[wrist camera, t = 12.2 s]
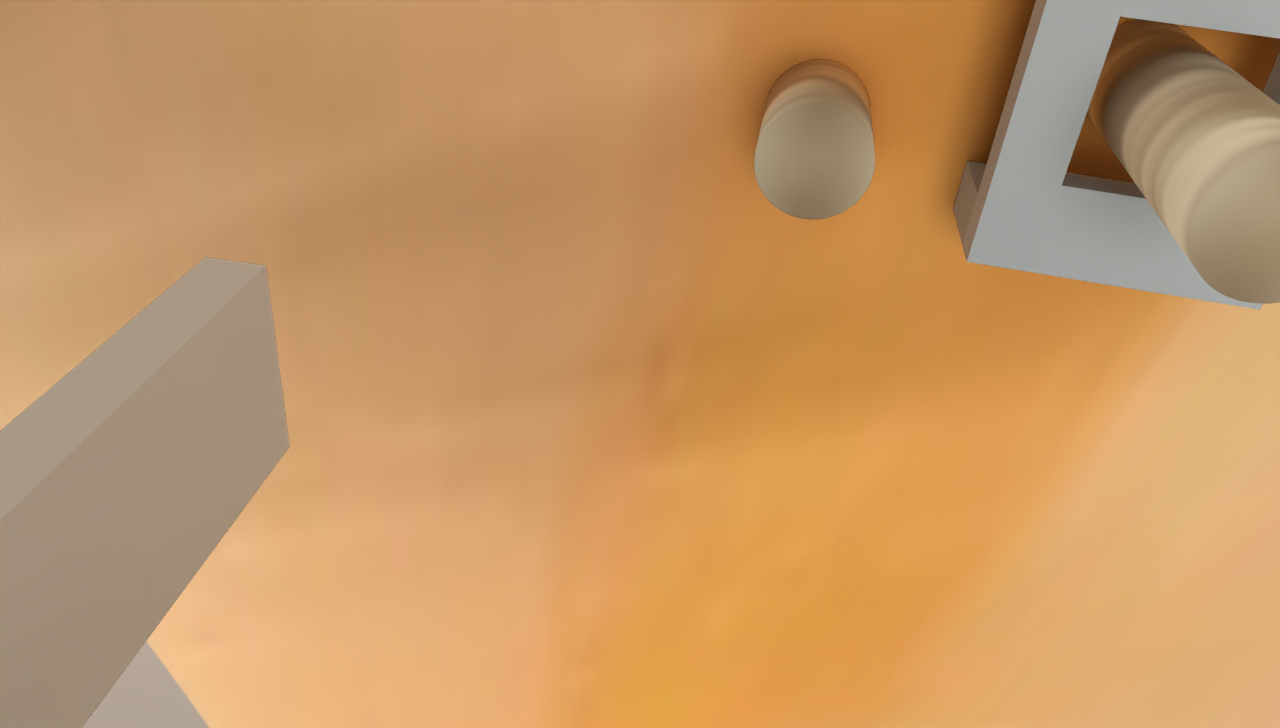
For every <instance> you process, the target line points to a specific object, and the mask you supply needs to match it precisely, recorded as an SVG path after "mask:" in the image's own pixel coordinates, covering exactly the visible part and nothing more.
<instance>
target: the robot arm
mask: <svg viewBox="0 0 1280 728" xmlns="http://www.w3.org/2000/svg"><path fill="white" fill-rule="evenodd" d="M289 447H290V445H289V437H288V429H287V422H286V414H285V406H284V399H283V391H282V384H281V376H280V368H279V361H278V353H277V345H276V338H275V330H274V323H273V315H272V307H271V300H270V292H269V284H268V277H267V269H266V266H265V265H258V264H251V263H244V262H237V261H230V260H224V259H217V258H210V257H205V258H204V259H203V260H201V261H200V262H199V263H198V264H197V265H195V266H194V267H193V268H192V269H191V270H190V271H188V272H187V273H186V274H185V275H184V276H182V277H181V278H180V279H179V280H178V281H177V282H175V283H174V284H173V285H172V286H171V287H169V288H168V289H167V290H166V291H165V292H164V293H162V294H161V295H160V296H159V297H158V298H157V299H155V300H154V301H153V302H152V303H151V304H149V305H148V306H147V307H146V308H145V309H144V310H142V311H141V312H140V313H139V314H138V315H136V316H135V317H134V318H133V319H132V320H131V321H129V322H128V323H127V324H126V325H125V326H123V327H122V328H121V329H120V330H119V331H118V332H116V333H115V334H114V335H113V336H112V337H110V338H109V339H108V340H107V341H106V342H105V343H103V344H102V345H101V346H100V347H99V348H97V349H96V350H95V351H94V352H93V353H92V354H90V355H89V356H88V357H87V358H86V359H84V360H83V361H82V362H81V363H80V364H79V365H77V366H76V367H75V368H74V369H73V370H71V371H70V372H69V373H68V374H67V375H66V376H64V377H63V378H62V379H61V380H60V381H58V382H57V383H56V384H55V385H54V386H53V387H51V388H50V389H49V390H48V391H47V392H45V393H44V394H43V395H42V396H41V397H40V398H38V399H37V400H36V401H35V402H34V403H32V404H31V405H30V406H29V407H28V408H27V409H25V410H24V411H23V412H22V413H21V414H19V415H18V416H17V417H16V418H15V419H14V420H12V421H11V422H10V423H9V424H8V425H6V426H5V427H4V428H3V429H2V430H1V431H0V728H82V727H83V726H84V724H85V723H86V722H87V720H88V719H89V718H90V716H91V715H92V714H93V712H94V711H95V710H96V708H97V707H98V705H99V704H100V703H101V701H102V700H103V699H104V697H105V696H106V695H107V693H108V692H109V690H110V689H111V688H112V687H113V685H114V684H115V682H116V681H117V680H118V678H119V677H120V676H121V674H122V673H123V672H124V670H125V669H126V667H127V666H128V665H129V663H130V662H131V661H132V659H133V658H134V657H135V655H136V654H137V653H138V651H139V650H140V649H141V647H142V646H143V645H144V643H145V642H146V640H147V639H148V638H149V636H150V635H151V634H152V632H153V631H154V630H155V628H156V627H157V626H158V624H159V623H160V622H161V620H162V619H163V617H164V616H165V615H166V613H167V612H168V611H169V609H170V608H171V607H172V605H173V604H174V603H175V601H176V600H177V599H178V597H179V596H180V594H181V593H182V592H183V590H184V589H185V588H186V586H187V585H188V584H189V582H190V581H191V580H192V578H193V577H194V575H195V574H196V573H197V571H198V570H199V569H200V567H201V566H202V565H203V563H204V562H205V561H206V559H207V558H208V557H209V555H210V554H211V552H212V551H213V550H214V548H215V547H216V546H217V544H218V543H219V542H220V540H221V539H222V538H223V536H224V535H225V534H226V532H227V531H228V529H229V528H230V527H231V525H232V524H233V523H234V521H235V520H236V519H237V517H238V516H239V515H240V513H241V512H242V510H243V509H244V508H245V506H246V505H247V504H248V502H249V501H250V500H251V498H252V497H253V496H254V494H255V493H256V492H257V490H258V489H259V487H260V486H261V485H262V483H263V482H264V481H265V479H266V478H267V477H268V475H269V474H270V473H271V471H272V470H273V469H274V467H275V466H276V464H277V463H278V462H279V460H280V459H281V458H282V456H283V455H284V454H285V452H286V451H287V450H288V448H289Z"/></svg>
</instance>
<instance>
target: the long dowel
mask: <svg viewBox="0 0 1280 728" xmlns="http://www.w3.org/2000/svg"><path fill="white" fill-rule="evenodd" d="M1087 116H1088V117H1089V119H1090V120H1091V121H1092V123H1093V124H1094V126H1095V127H1096V129H1097V130H1098V131H1099V133H1100V134H1101V136H1102V137H1103V138H1104V140H1105V141H1106V143H1107V144H1108V146H1109V147H1110V148H1111V150H1112V151H1113V153H1114V154H1115V155H1116V157H1117V158H1118V160H1119V161H1120V163H1121V164H1122V165H1123V167H1124V168H1125V170H1126V171H1127V172H1128V174H1129V175H1130V177H1131V178H1132V179H1133V181H1134V182H1135V184H1136V185H1137V187H1138V188H1139V189H1140V191H1141V192H1142V194H1143V195H1144V196H1145V198H1146V199H1147V201H1148V202H1149V204H1150V205H1151V206H1152V208H1153V209H1154V211H1155V212H1156V213H1157V215H1158V216H1159V218H1160V219H1161V221H1162V222H1163V223H1164V225H1165V226H1166V228H1167V229H1168V230H1169V232H1170V233H1171V235H1172V236H1173V238H1174V239H1175V240H1176V242H1177V243H1178V245H1179V246H1180V247H1181V249H1182V250H1183V252H1184V253H1185V255H1186V256H1187V257H1188V259H1189V260H1190V262H1191V263H1192V264H1193V266H1194V267H1195V269H1196V270H1197V272H1198V273H1199V274H1200V276H1201V277H1202V278H1203V280H1204V281H1205V282H1206V283H1207V284H1208V285H1209V286H1210V287H1212V288H1213V289H1214V290H1216V291H1217V292H1219V293H1221V294H1223V295H1225V296H1227V297H1229V298H1232V299H1235V300H1239V301H1243V302H1248V303H1278V302H1280V105H1279V104H1277V103H1276V102H1275V101H1273V100H1272V99H1271V98H1269V97H1268V96H1267V95H1266V94H1264V93H1263V92H1262V91H1260V90H1259V89H1258V88H1256V87H1255V86H1254V85H1253V84H1251V83H1250V82H1249V81H1247V80H1246V79H1245V78H1243V77H1242V76H1241V75H1240V74H1238V73H1237V72H1236V71H1234V70H1233V69H1232V68H1230V67H1229V66H1228V65H1227V64H1225V63H1224V62H1223V61H1221V60H1220V59H1219V58H1218V57H1216V56H1215V55H1214V54H1212V53H1211V52H1210V51H1208V50H1207V49H1206V48H1205V47H1203V46H1202V45H1201V44H1199V43H1198V42H1197V41H1195V40H1194V39H1193V38H1192V37H1190V36H1189V35H1188V34H1186V33H1185V32H1184V31H1182V30H1181V29H1180V28H1179V27H1177V26H1175V25H1173V24H1171V23H1164V22H1157V21H1149V20H1142V19H1139V20H1133V21H1130V22H1126V23H1124V24H1121V25H1119V26H1117V27H1116V30H1115V33H1114V36H1113V39H1112V42H1111V45H1110V48H1109V50H1108V53H1107V56H1106V59H1105V62H1104V65H1103V68H1102V71H1101V73H1100V76H1099V79H1098V82H1097V85H1096V88H1095V91H1094V94H1093V96H1092V99H1091V102H1090V105H1089V108H1088V111H1087Z"/></svg>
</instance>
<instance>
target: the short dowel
mask: <svg viewBox="0 0 1280 728" xmlns="http://www.w3.org/2000/svg"><path fill="white" fill-rule="evenodd" d="M874 168H875V151H874V141H873V130H872V119H871V109H870V99H869V95H868V92H867V90H866V87H865V85H864V84H863V82H862V80H861V79H860V78H859V77H858V75H857V74H856V73H854V72H853V71H852V70H851V69H849V68H848V67H847V66H845V65H843V64H841V63H838V62H835V61H831V60H824V59H816V60H809V61H805V62H802V63H799V64H797V65H795V66H793V67H791V68H790V69H788V70H787V71H786V72H784V73H783V74H782V75H781V76H780V77H779V78H778V79H777V81H776V82H775V83H774V85H773V87H772V88H771V90H770V93H769V95H768V98H767V102H766V106H765V111H764V116H763V120H762V125H761V129H760V134H759V138H758V143H757V147H756V152H755V159H754V170H755V176H756V179H757V182H758V185H759V187H760V189H761V191H762V192H763V194H764V195H765V197H766V198H767V199H768V200H769V202H771V203H772V204H773V205H774V206H775V207H776V208H778V209H779V210H781V211H782V212H784V213H786V214H788V215H791V216H794V217H797V218H802V219H824V218H828V217H832V216H835V215H837V214H840V213H842V212H844V211H845V210H847V209H849V208H850V207H851V206H853V205H854V204H855V203H856V202H857V201H858V200H859V199H860V198H861V197H862V196H863V194H864V193H865V192H866V190H867V188H868V187H869V184H870V182H871V180H872V177H873V174H874Z"/></svg>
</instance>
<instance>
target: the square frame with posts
mask: <svg viewBox="0 0 1280 728" xmlns="http://www.w3.org/2000/svg"><path fill="white" fill-rule="evenodd" d="M1120 16H1121V17H1128V18H1135V19H1142V20H1149V21H1157V22H1164V23H1171V24H1178V25H1186V26H1193V27H1200V28H1207V29H1214V30H1222V31H1229V32H1236V33H1243V34H1250V35H1258V36H1265V37H1272V38H1279V39H1280V0H1036V2H1035V5H1034V8H1033V12H1032V15H1031V18H1030V22H1029V25H1028V28H1027V32H1026V35H1025V38H1024V42H1023V45H1022V48H1021V51H1020V55H1019V58H1018V61H1017V65H1016V68H1015V71H1014V75H1013V78H1012V81H1011V85H1010V88H1009V91H1008V95H1007V98H1006V101H1005V105H1004V108H1003V111H1002V115H1001V118H1000V121H999V125H998V128H997V131H996V135H995V138H994V141H993V145H992V148H991V151H990V154H989V158H988V161H987V164H984V163H977V162H971V161H967V162H966V166H965V169H964V173H963V176H962V180H961V183H960V187H959V190H958V194H957V197H956V201H955V204H954V207H953V210H954V214H955V218H956V222H957V226H958V230H959V233H960V237H961V241H962V245H963V249H964V253H965V256H966V260H967V262H972V263H978V264H984V265H990V266H996V267H1002V268H1009V269H1015V270H1021V271H1027V272H1033V273H1039V274H1045V275H1051V276H1057V277H1064V278H1070V279H1076V280H1082V281H1088V282H1094V283H1100V284H1106V285H1113V286H1119V287H1125V288H1131V289H1137V290H1143V291H1149V292H1155V293H1161V294H1168V295H1174V296H1180V297H1186V298H1192V299H1198V300H1204V301H1210V302H1217V303H1223V304H1229V305H1235V306H1241V307H1247V308H1253V309H1259V310H1260V309H1261V307H1262V305H1263V303H1248V302H1243V301H1239V300H1235V299H1232V298H1229V297H1227V296H1225V295H1223V294H1221V293H1219V292H1217V291H1216V290H1214V289H1213V288H1212V287H1210V286H1209V285H1208V284H1207V283H1206V282H1205V281H1204V280H1203V278H1202V277H1201V276H1200V274H1199V273H1198V272H1197V270H1196V269H1195V267H1194V266H1193V264H1192V263H1191V262H1190V260H1189V259H1188V257H1187V256H1186V255H1185V253H1184V252H1183V250H1182V249H1181V247H1180V246H1179V245H1178V243H1177V242H1176V240H1175V239H1174V238H1173V236H1172V235H1171V233H1170V232H1169V230H1168V229H1167V228H1166V226H1165V225H1164V223H1163V222H1162V221H1161V219H1160V218H1159V216H1158V215H1157V213H1156V212H1155V211H1154V209H1153V208H1152V206H1151V205H1150V204H1149V202H1148V201H1147V199H1146V198H1145V196H1144V195H1143V194H1142V192H1141V191H1140V189H1139V188H1138V187H1137V185H1136V184H1135V183H1133V182H1126V181H1120V180H1113V179H1107V178H1100V177H1094V176H1087V175H1081V174H1074V173H1068V172H1066V171H1067V168H1068V166H1069V163H1070V160H1071V157H1072V154H1073V151H1074V148H1075V145H1076V143H1077V140H1078V137H1079V134H1080V131H1081V128H1082V125H1083V122H1084V120H1085V117H1086V114H1087V111H1088V108H1089V105H1090V102H1091V99H1092V96H1093V94H1094V91H1095V88H1096V85H1097V82H1098V79H1099V76H1100V73H1101V71H1102V68H1103V65H1104V62H1105V59H1106V56H1107V53H1108V50H1109V48H1110V45H1111V42H1112V39H1113V36H1114V33H1115V30H1116V27H1117V25H1118V22H1119V19H1120ZM1263 93H1264V94H1266V95H1267V96H1268V97H1269V98H1271V99H1272V100H1273V101H1275V102H1276V103H1277V104H1279V105H1280V53H1279V55H1278V57H1277V60H1276V62H1275V64H1274V67H1273V69H1272V71H1271V73H1270V76H1269V78H1268V80H1267V83H1266V85H1265V87H1264V89H1263Z"/></svg>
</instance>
